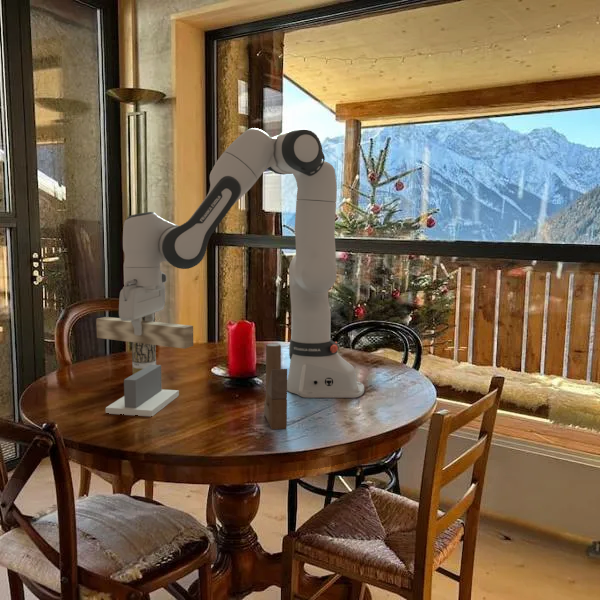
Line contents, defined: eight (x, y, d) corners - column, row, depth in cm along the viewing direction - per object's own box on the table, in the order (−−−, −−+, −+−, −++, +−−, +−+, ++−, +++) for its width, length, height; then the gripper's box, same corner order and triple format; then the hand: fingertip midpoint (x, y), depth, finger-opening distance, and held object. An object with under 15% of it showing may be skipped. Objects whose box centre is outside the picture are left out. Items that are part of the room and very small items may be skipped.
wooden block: (271, 430, 136) (271, 352, 133) (264, 415, 146) (264, 343, 144) (287, 429, 137) (288, 352, 134) (278, 414, 147) (279, 342, 145)
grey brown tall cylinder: (142, 383, 173) (140, 298, 170) (128, 379, 177) (125, 296, 174) (161, 379, 179) (159, 296, 175) (146, 375, 183) (144, 294, 180)
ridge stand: (178, 395, 162) (178, 365, 161) (152, 416, 144) (151, 382, 143) (137, 393, 164) (136, 362, 163) (105, 413, 146) (104, 379, 145)
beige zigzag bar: (193, 345, 146) (193, 325, 145) (184, 348, 142) (184, 327, 142) (106, 335, 158) (106, 316, 157) (96, 337, 155) (96, 318, 154)
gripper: (136, 282, 137) (138, 341, 139) (169, 275, 157) (170, 326, 159) (110, 281, 138) (112, 340, 140) (146, 274, 158) (147, 325, 160)
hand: (143, 332), depth 150 cm, fingers closed on beige zigzag bar, 4 cm apart
